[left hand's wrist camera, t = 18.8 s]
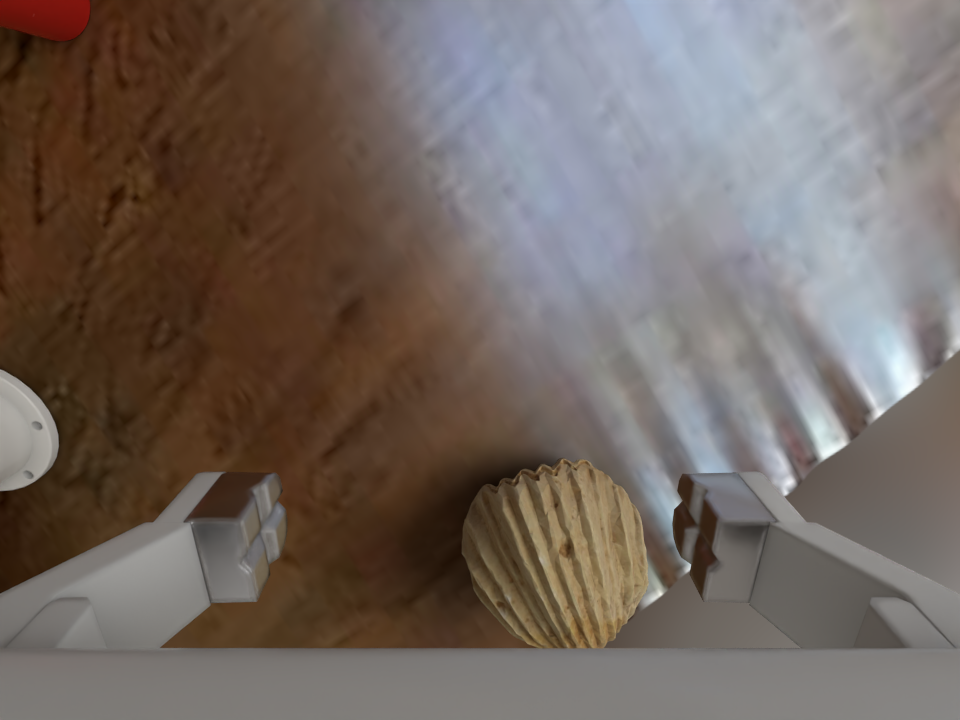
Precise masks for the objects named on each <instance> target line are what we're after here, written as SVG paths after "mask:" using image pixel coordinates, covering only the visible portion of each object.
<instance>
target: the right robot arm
mask: <svg viewBox="0 0 960 720" xmlns="http://www.w3.org/2000/svg"><path fill="white" fill-rule="evenodd" d="M58 448H59V440H58V432H57V429H56V425H55V422H54V420H53V418H52V416H51V414H50V412H49V410H48V409H47V407H46V406H45V405H44V403H43V402H42V400H41V399H40V398H39V397H38V396H37V395H36V394H35V393H34V392H33V391H32V390H31V389H30V388H29V387H28V386H26V385H25V384H24V383H22V382H21V381H20V380H18V379H17V378H15V377H14V376H12V375H10V374H8V373H7V372H5V371H3V370H1V369H0V491H7V490H15V489H18V488H22V487H25V486H27V485H29V484H31V483H33V482H35V481H36V480H37V479H39V478H40V477H41V476H43V475H44V474H45V473H46V472H47V471H48V470H49V469H50V468H51V467H52V465H53V463H54V461H55V459H56V457H57V453H58Z"/></svg>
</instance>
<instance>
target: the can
mask: <svg viewBox="0 0 960 720" xmlns="http://www.w3.org/2000/svg"><path fill="white" fill-rule="evenodd" d="M89 16H90V0H0V27H4V28H8V29H12V30H15V31H19V32H23V33H27V34H30V35H34V36H38V37H42V38H45V39H49V40H53V41H67V40H71V39H73V38H75V37H77V36H78V35H80V34H81V33H82V32H83V30H84V29H85V27H86V25H87V23H88V20H89Z"/></svg>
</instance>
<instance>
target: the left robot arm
mask: <svg viewBox="0 0 960 720" xmlns="http://www.w3.org/2000/svg"><path fill="white" fill-rule="evenodd" d="M282 491H283V490H282V486H281V481H280V477H279V476H278V475H277V474H276V473H250V472H227V473H226V472H202V473H198V474H196V475H195V476H194V477H193V478H192V480H191V481H190V482H189V483H188V484H187V485H186V486H185V487H184V489H183V490H182V491H181V492H180V493H179V494H178V495H177V496H176V497H175V499H174V500H173V501H172V502H171V503H170V504H169V505H168V506H167V508H166V509H165V510H164V511H163V512H162V513H161V514H160V515H159V516H158V518H157V519H156V520H155V521H154V522H153V523H143V524H141V525H139V526H137V527H135V528H133V529H131V530H129V531H127V532H125V533H123V534H121V535H119V536H117V537H115V538H113V539H110V540H108V541H106V542H104V543H102V544H100V545H98V546H96V547H94V548H92V549H90V550H88V551H86V552H84V553H82V554H80V555H78V556H76V557H74V558H72V559H70V560H68V561H66V562H64V563H62V564H60V565H58V566H56V567H54V568H51V569H49V570H47V571H45V572H43V573H41V574H39V575H37V576H35V577H33V578H31V579H29V580H27V581H25V582H23V583H21V584H19V585H17V586H15V587H13V588H11V589H9V590H7V591H5V592H3V593H1V594H0V720H960V594H959V593H957V592H955V591H953V590H951V589H949V588H947V587H945V586H943V585H941V584H939V583H937V582H935V581H933V580H931V579H928V578H927V577H924V576H922V575H920V574H918V573H916V572H914V571H912V570H910V569H908V568H906V567H904V566H902V565H900V564H898V563H896V562H894V561H892V560H890V559H888V558H886V557H884V556H882V555H880V554H878V553H876V552H874V551H872V550H870V549H868V548H866V547H864V546H862V545H860V544H858V543H856V542H853V541H851V540H849V539H847V538H845V537H843V536H841V535H839V534H837V533H835V532H833V531H831V530H829V529H827V528H825V527H823V526H821V525H819V524H817V523H807V522H806V521H805V520H804V519H803V518H802V516H801V515H800V514H799V513H798V512H797V511H796V510H795V509H794V508H793V506H792V505H791V504H790V503H789V502H788V501H787V500H786V499H785V497H784V496H783V495H782V494H781V493H780V492H779V491H778V490H777V489H776V487H775V486H774V485H773V484H772V483H771V482H770V481H769V480H768V478H767V477H766V476H765V475H764V474H762V473H760V472H733V473H697V474H682V476H681V478H680V480H679V485H678V490H677V491H678V493H679V495H680V497H681V498H682V500H683V501H682V502H681V503H680V504H679V505H678V506H677V507H676V508H675V509H674V516H673V523H672V524H673V536H674V540H675V544H676V547H677V550H678V552H679V554H680V556H681V557H682V558H683V559H684V560H686V561H687V562H689V563H690V564H691V570H690V576H691V578H692V580H693V582H694V584H695V586H696V588H697V590H698V592H699V594H700V596H701V598H702V600H703V601H704V602H737V603H750V604H749V605H750V606H751V607H753V608H754V609H755V610H756V611H757V612H758V613H760V614H761V615H762V616H763V617H764V618H766V619H767V620H768V621H769V622H770V623H772V624H773V625H774V626H775V627H777V628H778V629H779V630H780V631H781V632H783V633H784V634H785V635H786V636H787V637H788V638H790V639H791V640H792V641H793V642H794V643H796V644H797V645H798V646H799V647H801V648H160V647H161V646H162V645H163V644H164V643H166V642H167V641H168V640H169V639H170V638H172V637H173V636H174V635H175V634H177V633H178V632H179V631H180V630H181V629H183V628H184V627H185V626H186V625H187V624H189V623H190V622H191V621H192V620H193V619H195V618H196V617H197V616H198V615H199V614H201V613H202V612H203V611H204V610H205V609H207V608H208V607H209V606H210V603H222V602H257V600H258V598H259V596H260V594H261V592H262V590H263V588H264V586H265V584H266V582H267V580H268V578H269V576H270V570H269V564H270V563H271V562H273V561H274V560H276V559H277V558H278V557H279V556H280V554H281V552H282V550H283V547H284V544H285V540H286V535H287V515H286V509H285V508H284V507H283V506H282V505H281V504H280V503H279V502H278V501H277V500H278V498H279V497H280V495H281V493H282Z"/></svg>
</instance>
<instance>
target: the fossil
mask: <svg viewBox="0 0 960 720" xmlns="http://www.w3.org/2000/svg"><path fill="white" fill-rule="evenodd" d="M462 555H463V556H464V557H465V559H466V562H467V565H468V568H469V570H470V574H471V579H472V584H473V589H474V591H475V593H476V594H477V596H478V597H479V599H480V600H481V602H482V603H483V604H484V605H485V606H486V607H487V608H488V610H489V611H490V612H491V613H492V614H493V615H494V616H495V617H496V618H497V620H498V621H499V622H500V623H501V624H502V625H503V626H504V627H505V628H506V629H507V630H508V631H509V632H510V633H511V634H512V635H513V636H515V637H516V638H519V639H521V640H523V641H526V642H527V644H530V645H533V646H535V647H537V648H603V647H605V645H606V643H607V641H613V640H614V639H615V635H616V633H619V631H620V628H621V626H622V625H624V624H626V623H627V620H628V619H629V618H630V617H631V616H632V615H633V614H634V612H635V609H636V607H637V605H638V603H639V602H640V600H641V598H642V597H643V595H644V594H645V592H646V590H647V587H648V583H649V582H648V576H647V572H648V564H647V560H646V547H645V544H644V539H643V528H642V521H641V518H640V514H639V512H638V510H637V509H636V507H635V506H634V505H633V504H632V503H631V502H630V499H629V497H628V495H627V493H626V492H625V490H624V489H623V488H622V487H621V486H618V485H616V484H614V483H613V481H612V480H611V478H610V477H609V476H608V475H606V474H604V473H603V472H602V471H600V470H598V469H596V468H594V467H593V466H592V464H591V463H590V462H589V461H587V460H583V459H579V460H576V461H575V462H574V463H573V462H571V461H569V460H566V459H564V458H561V459H559V460H558V461H557V462H556V463H555V464H554V465H553V466H552V467H550V466H548V465H545V464H540V465H539V466H538V468H537V469H536V471H532V470H528V469H523V470H521V471H520V472H519V473H518V474H517V475H516V476H515V478H514V479H510V478H503V479H502V480H501V481H500V483H499V485H498V486H497V487H495V486H493V485H491V484H486V485H484V486H482V488H481V489H480V491H479V492H478V494H477V496H476V497H475V498H474V500H473V502H472V503H471V506H470V508H469V511H468V514H467V516H466V519H465V521H464V525H463V539H462Z"/></svg>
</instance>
